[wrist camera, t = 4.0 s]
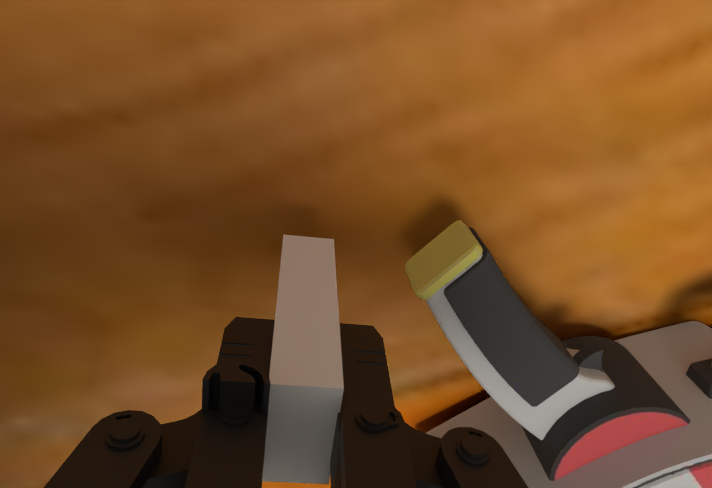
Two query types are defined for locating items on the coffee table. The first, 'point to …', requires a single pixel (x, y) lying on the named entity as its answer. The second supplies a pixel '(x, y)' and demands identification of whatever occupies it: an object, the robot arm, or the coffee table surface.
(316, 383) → the robot arm
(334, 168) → the coffee table surface
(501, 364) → the film camera
